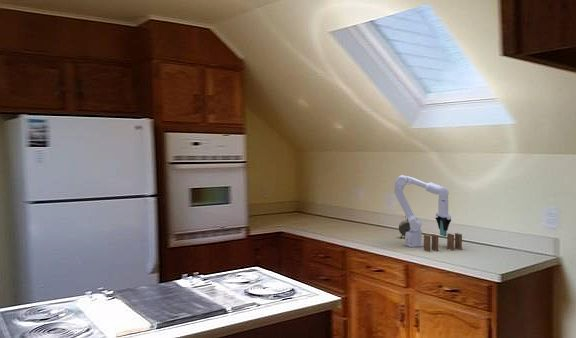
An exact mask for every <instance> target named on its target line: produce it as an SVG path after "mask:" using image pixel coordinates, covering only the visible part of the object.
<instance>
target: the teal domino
mask: <svg viewBox="0 0 576 338" xmlns="http://www.w3.org/2000/svg"><path fill="white" fill-rule="evenodd" d="M447 231H448V230H447ZM447 231H444V230H443V223H442V220H440V229H439V236H441V237H447V234H448V232H447Z"/></svg>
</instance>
